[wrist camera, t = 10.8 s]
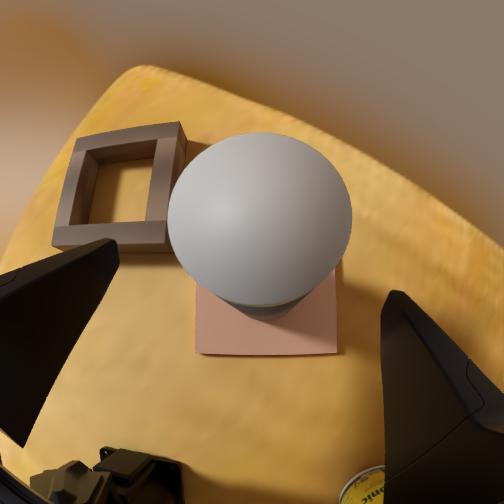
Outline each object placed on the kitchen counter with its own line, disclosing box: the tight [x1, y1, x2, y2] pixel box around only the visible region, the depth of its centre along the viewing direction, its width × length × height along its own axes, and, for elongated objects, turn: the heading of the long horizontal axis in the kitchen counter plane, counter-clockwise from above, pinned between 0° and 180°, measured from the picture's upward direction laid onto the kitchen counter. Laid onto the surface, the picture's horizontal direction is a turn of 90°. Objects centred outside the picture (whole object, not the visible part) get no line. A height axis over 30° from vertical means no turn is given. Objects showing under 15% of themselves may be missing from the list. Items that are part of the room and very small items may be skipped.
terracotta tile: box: [195, 268, 337, 355], centre depth 20 cm, size 9×9×1 cm
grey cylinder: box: [167, 132, 352, 321], centre depth 13 cm, size 4×4×13 cm
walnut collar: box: [51, 121, 187, 253], centre depth 21 cm, size 10×10×2 cm
